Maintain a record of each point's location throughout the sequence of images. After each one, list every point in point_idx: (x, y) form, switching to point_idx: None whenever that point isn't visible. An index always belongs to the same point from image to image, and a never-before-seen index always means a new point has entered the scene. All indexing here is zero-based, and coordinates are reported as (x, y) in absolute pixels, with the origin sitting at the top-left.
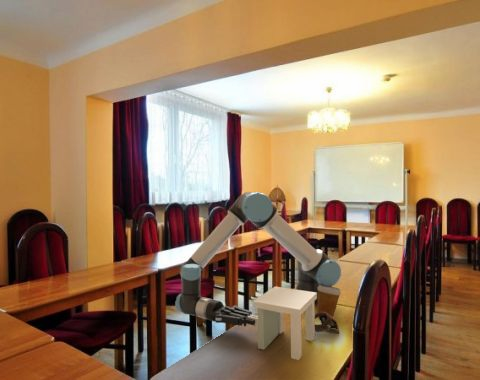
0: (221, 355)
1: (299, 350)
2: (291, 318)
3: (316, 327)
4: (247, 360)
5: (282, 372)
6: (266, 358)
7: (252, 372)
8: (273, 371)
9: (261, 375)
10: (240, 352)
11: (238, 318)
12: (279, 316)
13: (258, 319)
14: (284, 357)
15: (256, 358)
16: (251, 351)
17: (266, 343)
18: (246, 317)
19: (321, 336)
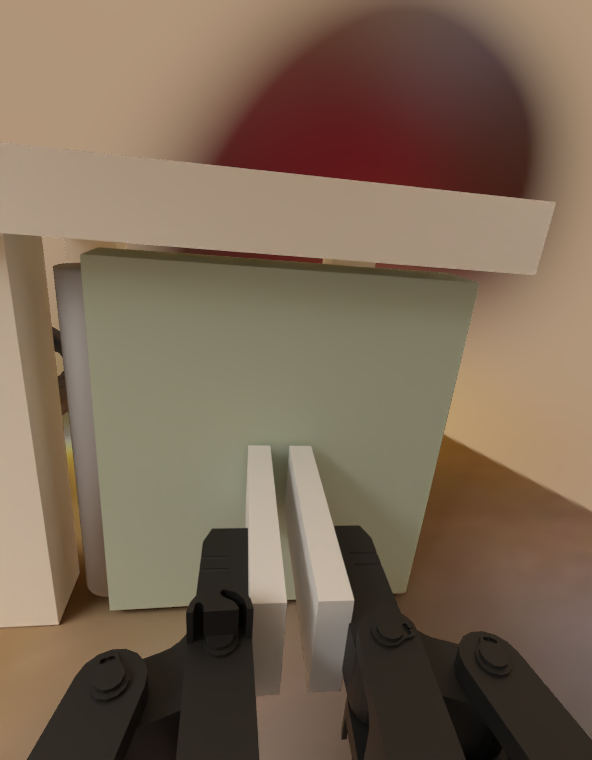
0: None
1: None
2: (372, 266)
3: (65, 388)
4: (562, 588)
5: (458, 453)
6: (441, 523)
7: (588, 523)
8: (487, 472)
9: (555, 492)
10: (566, 689)
11: (540, 682)
12: (61, 446)
13: (452, 384)
14: None
15: (493, 559)
16: (469, 623)
17: None
18: (369, 616)
19: (64, 423)
